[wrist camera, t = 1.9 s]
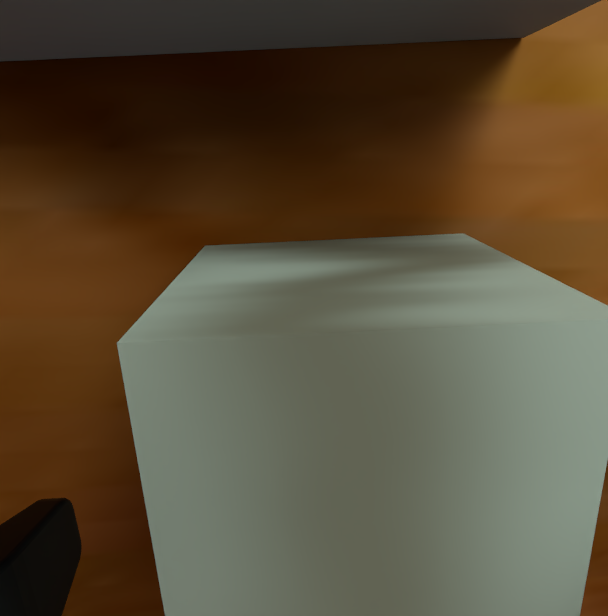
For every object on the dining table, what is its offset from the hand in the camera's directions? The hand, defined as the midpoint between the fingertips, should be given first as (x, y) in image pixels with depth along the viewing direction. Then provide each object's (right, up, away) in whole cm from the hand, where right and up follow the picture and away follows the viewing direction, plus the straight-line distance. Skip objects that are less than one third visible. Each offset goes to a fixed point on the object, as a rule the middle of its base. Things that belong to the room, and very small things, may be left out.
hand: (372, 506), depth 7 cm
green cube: (0, +2, +5) cm, 5 cm away
